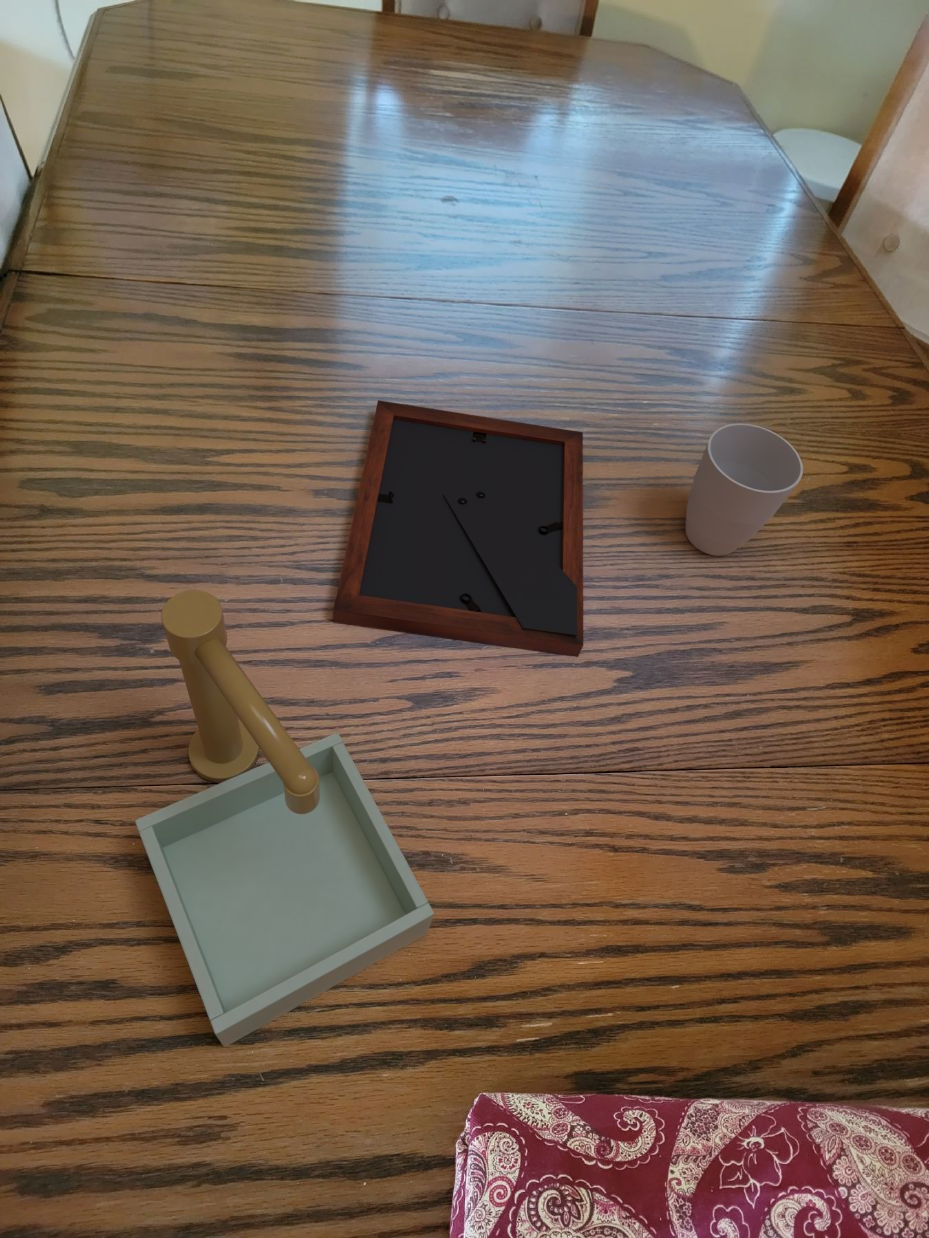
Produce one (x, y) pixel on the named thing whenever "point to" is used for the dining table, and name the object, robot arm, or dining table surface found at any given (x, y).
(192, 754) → the faucet base
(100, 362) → the dining table surface
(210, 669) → the spout
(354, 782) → the sink
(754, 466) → the cup
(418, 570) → the picture frame
